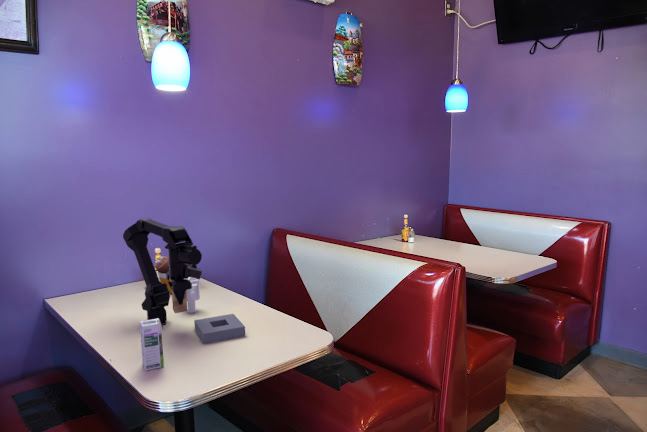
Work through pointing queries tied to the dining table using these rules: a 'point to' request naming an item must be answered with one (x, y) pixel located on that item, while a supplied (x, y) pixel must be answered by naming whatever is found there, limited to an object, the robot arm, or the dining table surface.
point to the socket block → (219, 328)
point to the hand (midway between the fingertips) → (179, 302)
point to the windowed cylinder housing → (193, 294)
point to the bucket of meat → (164, 270)
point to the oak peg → (176, 306)
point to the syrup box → (151, 344)
